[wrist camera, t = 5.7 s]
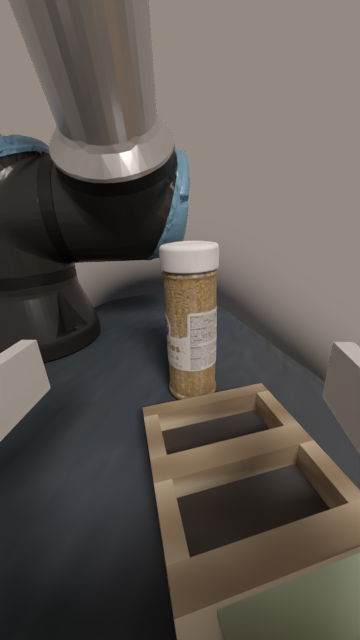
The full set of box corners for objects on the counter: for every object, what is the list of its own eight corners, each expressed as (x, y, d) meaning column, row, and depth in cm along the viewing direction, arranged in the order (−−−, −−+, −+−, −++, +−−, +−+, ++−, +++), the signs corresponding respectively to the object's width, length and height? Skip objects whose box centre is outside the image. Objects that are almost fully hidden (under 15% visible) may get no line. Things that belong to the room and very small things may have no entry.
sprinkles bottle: (162, 382, 25) (150, 242, 20) (203, 370, 26) (201, 238, 21) (180, 411, 21) (171, 247, 16) (226, 396, 22) (231, 241, 17)
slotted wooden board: (145, 427, 19) (142, 404, 18) (259, 402, 21) (261, 380, 21) (247, 1117, 4) (257, 1163, 4) (592, 813, 6) (651, 796, 6)
